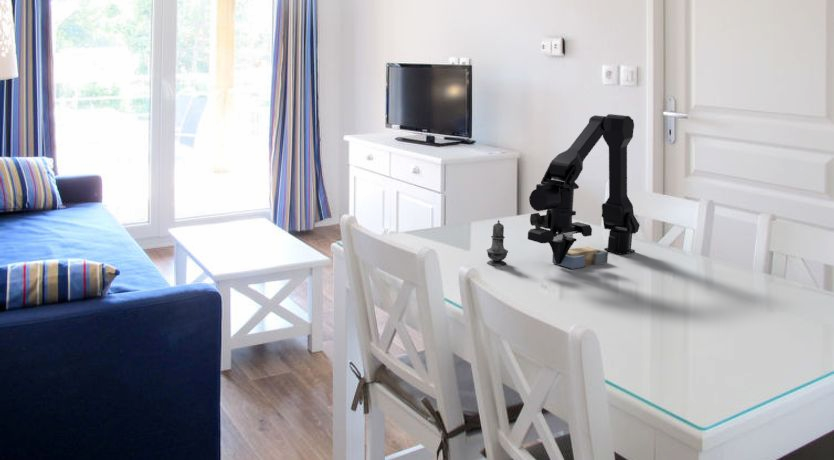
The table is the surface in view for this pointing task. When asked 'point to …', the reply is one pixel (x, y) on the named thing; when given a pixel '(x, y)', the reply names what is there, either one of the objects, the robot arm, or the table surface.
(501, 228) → the salt shaker
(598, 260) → the grey u channel
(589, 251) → the slat
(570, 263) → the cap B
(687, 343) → the table surface
